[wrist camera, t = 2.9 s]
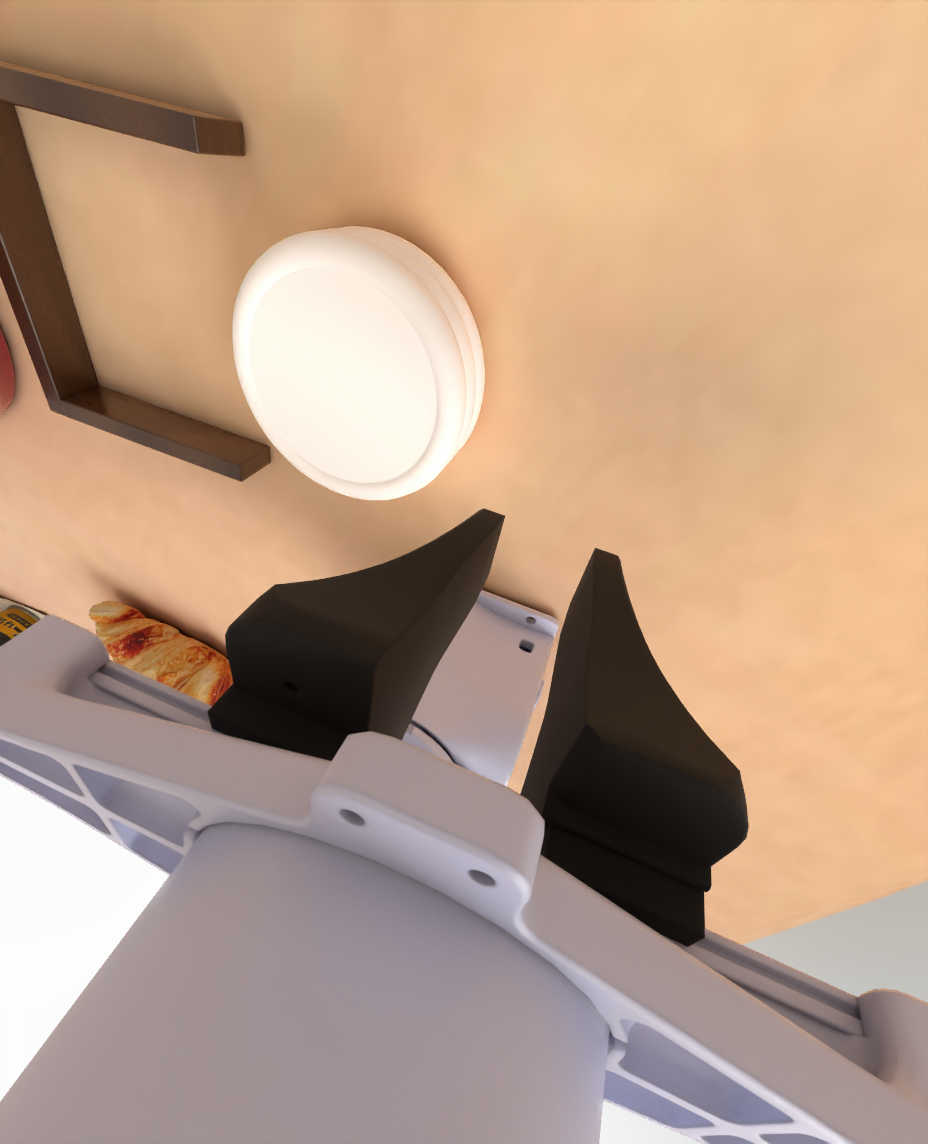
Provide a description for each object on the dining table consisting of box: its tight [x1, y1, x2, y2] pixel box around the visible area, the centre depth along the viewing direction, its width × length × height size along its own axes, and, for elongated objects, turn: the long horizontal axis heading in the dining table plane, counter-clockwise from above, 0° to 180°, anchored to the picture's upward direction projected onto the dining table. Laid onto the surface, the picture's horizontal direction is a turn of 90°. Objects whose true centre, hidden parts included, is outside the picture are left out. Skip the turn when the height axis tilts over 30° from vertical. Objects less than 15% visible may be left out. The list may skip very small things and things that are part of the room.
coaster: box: [232, 226, 485, 500], centre depth 21 cm, size 10×10×4 cm
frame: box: [0, 61, 270, 482], centre depth 23 cm, size 12×14×2 cm
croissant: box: [89, 601, 233, 706], centre depth 41 cm, size 21×10×8 cm, turn 50°
